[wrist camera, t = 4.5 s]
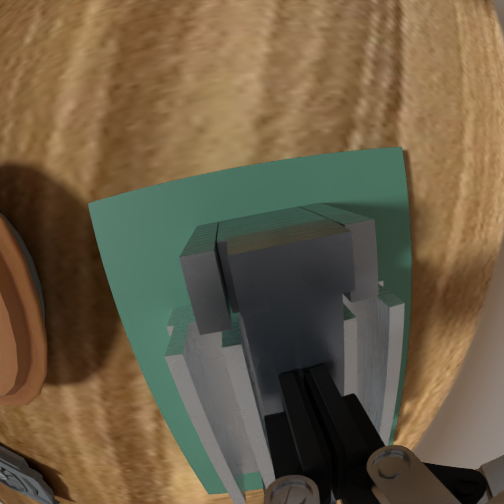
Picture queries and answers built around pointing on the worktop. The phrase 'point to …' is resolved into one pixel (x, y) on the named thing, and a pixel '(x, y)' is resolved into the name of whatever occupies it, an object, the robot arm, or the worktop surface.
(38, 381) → the pie
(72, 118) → the worktop surface
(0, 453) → the graphics card
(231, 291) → the heat sink
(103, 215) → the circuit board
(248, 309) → the grey lever rod
